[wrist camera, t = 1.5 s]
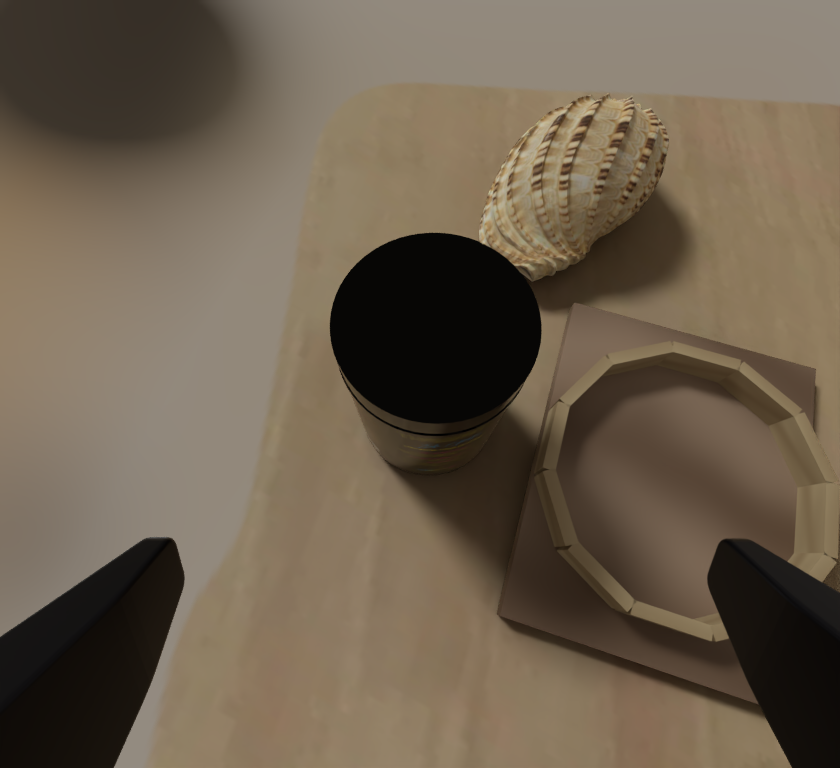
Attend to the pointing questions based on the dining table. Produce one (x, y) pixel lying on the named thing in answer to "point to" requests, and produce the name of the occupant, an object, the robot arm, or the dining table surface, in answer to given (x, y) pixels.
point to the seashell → (573, 182)
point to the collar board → (664, 492)
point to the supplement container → (434, 346)
